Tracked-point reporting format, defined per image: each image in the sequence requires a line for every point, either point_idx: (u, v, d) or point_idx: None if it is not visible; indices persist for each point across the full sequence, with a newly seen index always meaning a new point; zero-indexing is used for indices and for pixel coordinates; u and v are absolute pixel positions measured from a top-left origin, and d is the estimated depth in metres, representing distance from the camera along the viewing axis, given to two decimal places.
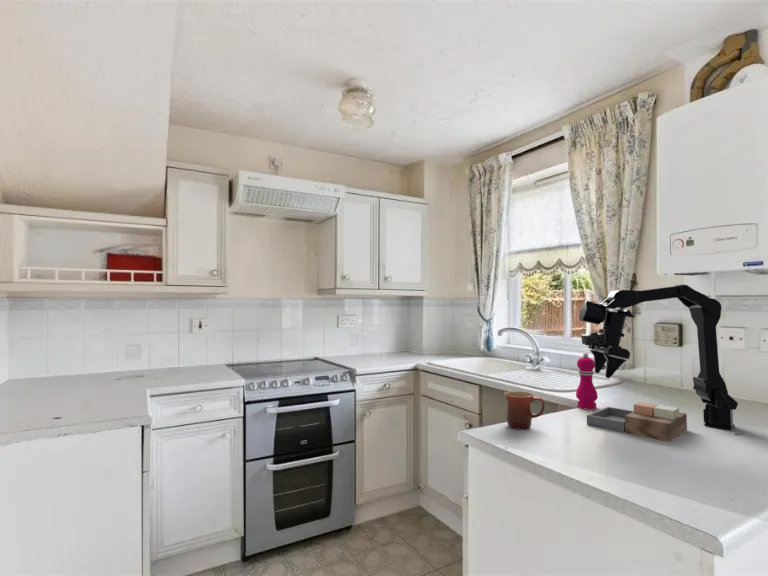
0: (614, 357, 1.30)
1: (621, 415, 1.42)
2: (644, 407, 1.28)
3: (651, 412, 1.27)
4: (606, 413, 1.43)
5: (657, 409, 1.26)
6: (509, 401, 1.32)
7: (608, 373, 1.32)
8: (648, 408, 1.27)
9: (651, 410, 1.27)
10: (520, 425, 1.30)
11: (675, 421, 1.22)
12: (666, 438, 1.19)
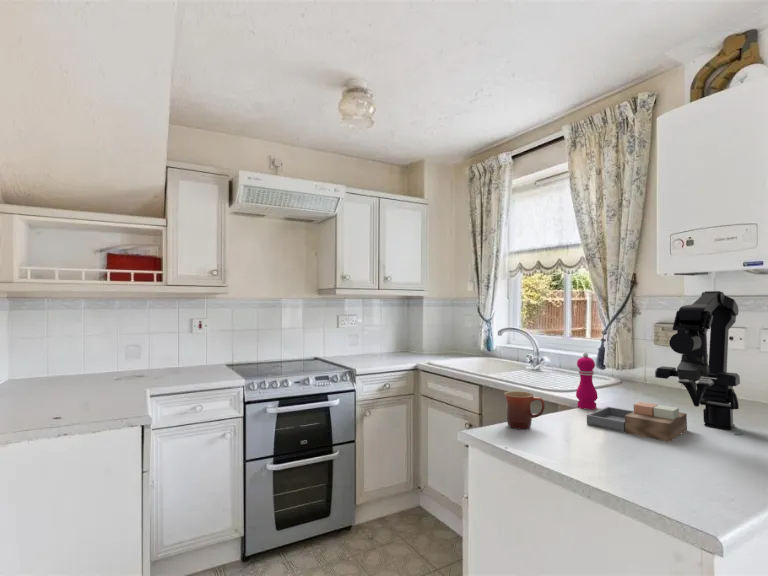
0: (710, 384, 1.18)
1: (621, 415, 1.42)
2: (644, 407, 1.28)
3: (651, 412, 1.27)
4: (606, 413, 1.43)
5: (657, 409, 1.26)
6: (509, 401, 1.32)
7: (699, 401, 1.20)
8: (648, 408, 1.27)
9: (651, 410, 1.27)
10: (520, 425, 1.30)
11: (675, 421, 1.22)
12: (666, 438, 1.19)
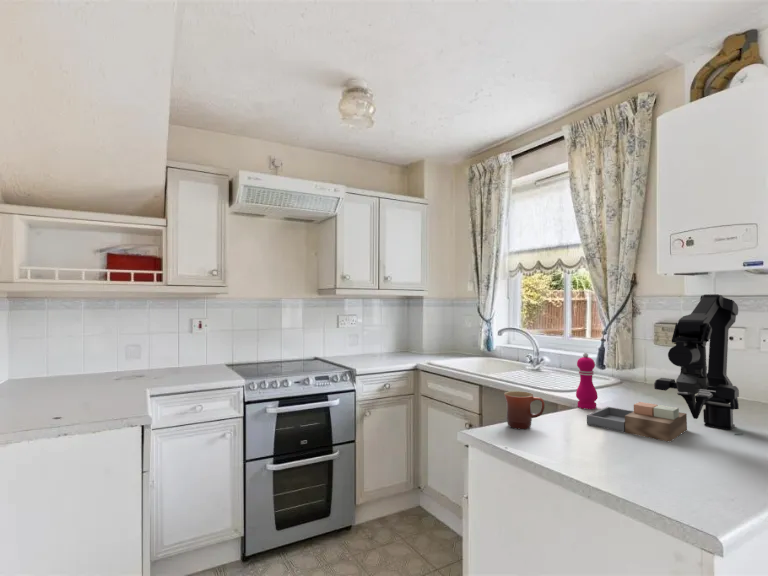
0: (709, 396, 1.18)
1: (621, 415, 1.42)
2: (644, 407, 1.28)
3: (651, 412, 1.27)
4: (606, 413, 1.43)
5: (657, 409, 1.26)
6: (509, 401, 1.32)
7: (698, 414, 1.20)
8: (648, 408, 1.27)
9: (651, 410, 1.27)
10: (521, 425, 1.30)
11: (675, 421, 1.22)
12: (666, 438, 1.19)
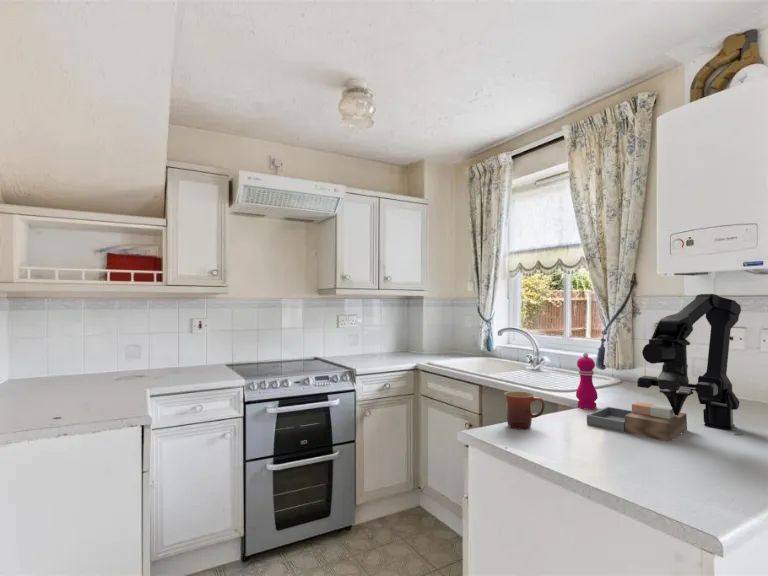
0: (690, 393, 1.21)
1: (621, 415, 1.42)
2: (642, 407, 1.29)
3: (649, 412, 1.27)
4: (606, 413, 1.43)
5: (653, 408, 1.26)
6: (509, 401, 1.32)
7: (679, 410, 1.23)
8: (646, 408, 1.28)
9: (649, 410, 1.27)
10: (520, 425, 1.30)
11: (675, 421, 1.22)
12: (666, 438, 1.19)
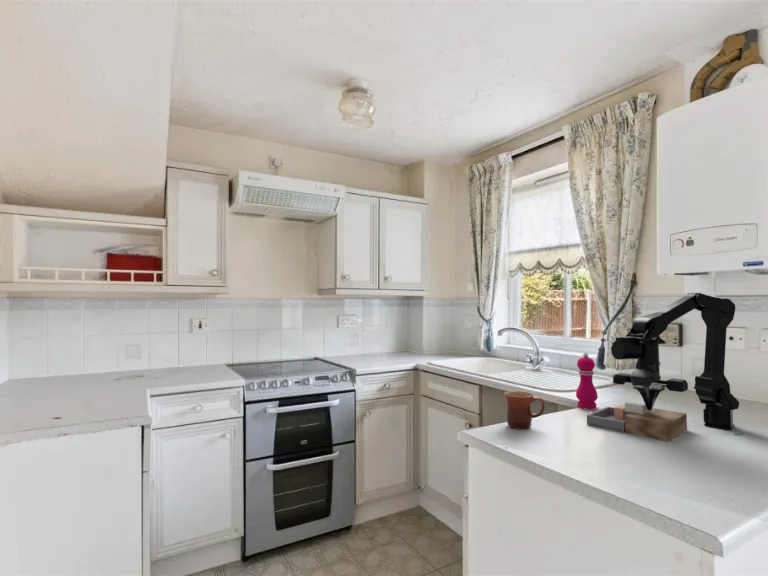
0: (661, 389, 1.26)
1: None
2: (615, 414, 1.34)
3: (619, 409, 1.33)
4: (606, 413, 1.43)
5: (628, 404, 1.32)
6: (509, 401, 1.32)
7: (652, 406, 1.29)
8: (615, 410, 1.34)
9: (617, 408, 1.34)
10: (520, 425, 1.30)
11: (675, 421, 1.22)
12: (666, 438, 1.19)
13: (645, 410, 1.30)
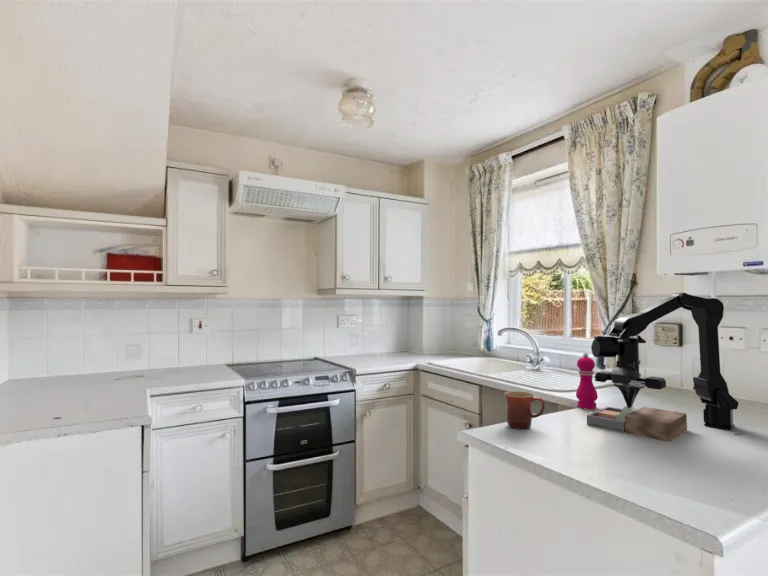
0: (640, 387, 1.31)
1: None
2: None
3: (599, 415, 1.38)
4: None
5: (618, 417, 1.34)
6: (509, 401, 1.32)
7: (632, 403, 1.33)
8: None
9: None
10: (520, 425, 1.30)
11: (675, 421, 1.22)
12: (666, 438, 1.19)
13: (632, 409, 1.33)
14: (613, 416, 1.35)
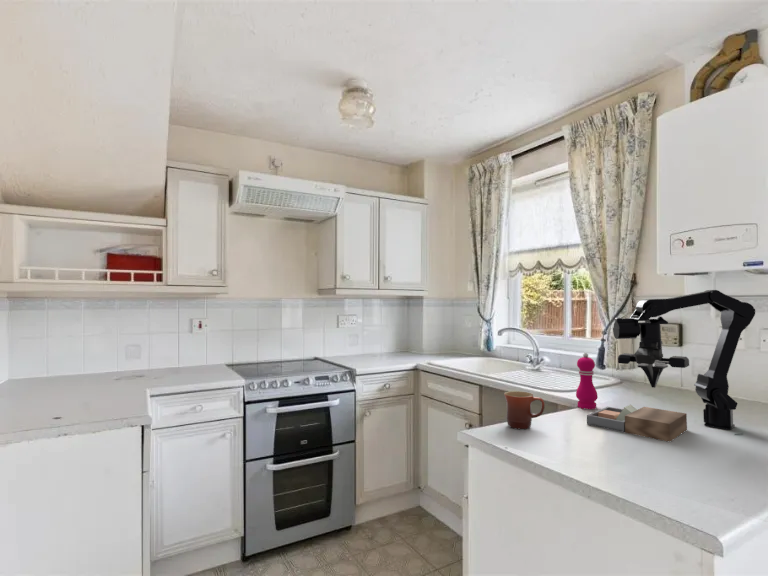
0: (664, 367, 1.33)
1: None
2: None
3: (599, 415, 1.38)
4: None
5: (618, 417, 1.34)
6: (509, 401, 1.32)
7: (656, 383, 1.36)
8: None
9: None
10: (521, 425, 1.30)
11: (675, 421, 1.22)
12: (666, 438, 1.19)
13: (632, 409, 1.33)
14: (613, 416, 1.35)
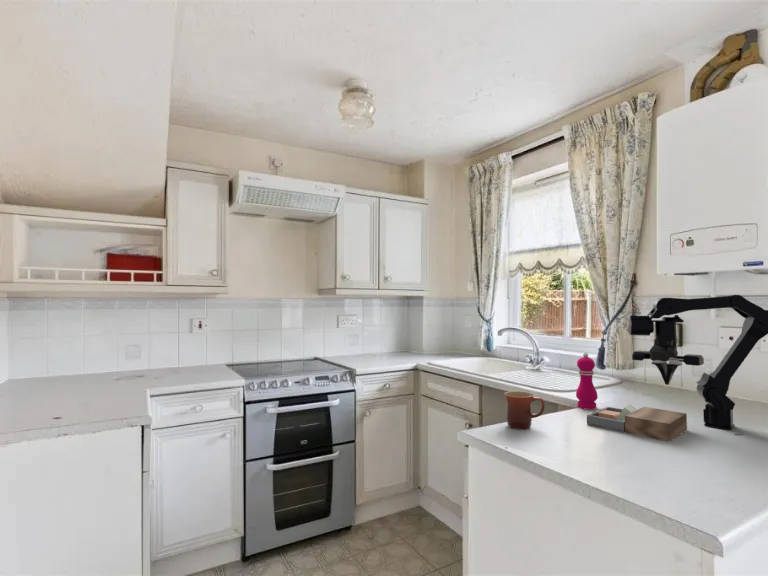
0: (679, 364, 1.35)
1: None
2: None
3: (599, 415, 1.38)
4: None
5: (618, 417, 1.34)
6: (509, 401, 1.32)
7: (669, 380, 1.37)
8: None
9: None
10: (520, 425, 1.30)
11: (675, 421, 1.22)
12: (666, 438, 1.19)
13: (632, 409, 1.33)
14: (613, 416, 1.35)
